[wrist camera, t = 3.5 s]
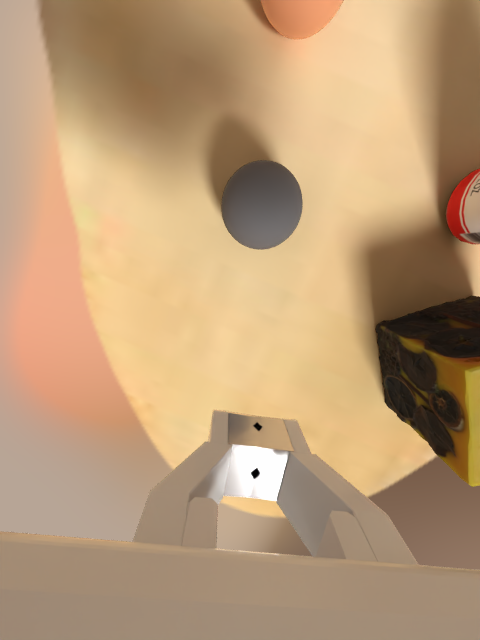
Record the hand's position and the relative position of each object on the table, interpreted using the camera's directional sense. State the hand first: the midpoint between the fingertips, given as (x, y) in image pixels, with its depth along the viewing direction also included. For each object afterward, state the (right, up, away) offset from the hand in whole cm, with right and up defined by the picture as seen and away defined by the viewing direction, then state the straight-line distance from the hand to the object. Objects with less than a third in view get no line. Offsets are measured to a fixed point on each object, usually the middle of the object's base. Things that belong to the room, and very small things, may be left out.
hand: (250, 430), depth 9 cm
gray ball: (+1, +12, +10) cm, 16 cm away
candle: (+19, 0, +17) cm, 26 cm away
